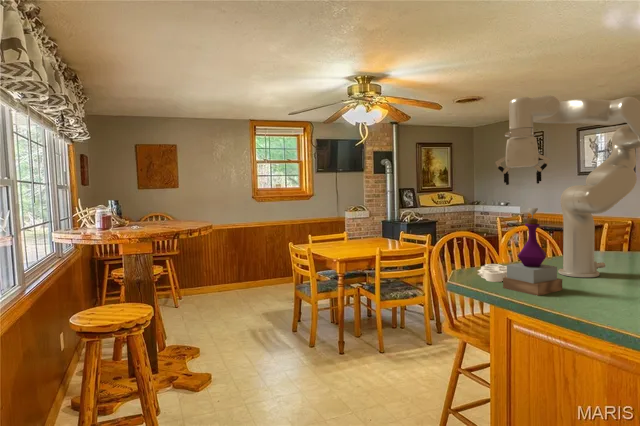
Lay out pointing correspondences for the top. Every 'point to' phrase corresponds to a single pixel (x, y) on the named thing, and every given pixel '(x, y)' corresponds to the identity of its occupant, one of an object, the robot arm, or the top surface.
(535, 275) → the tower top
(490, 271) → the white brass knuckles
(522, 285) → the tower bottom
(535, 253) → the perfume bottle
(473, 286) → the top surface
